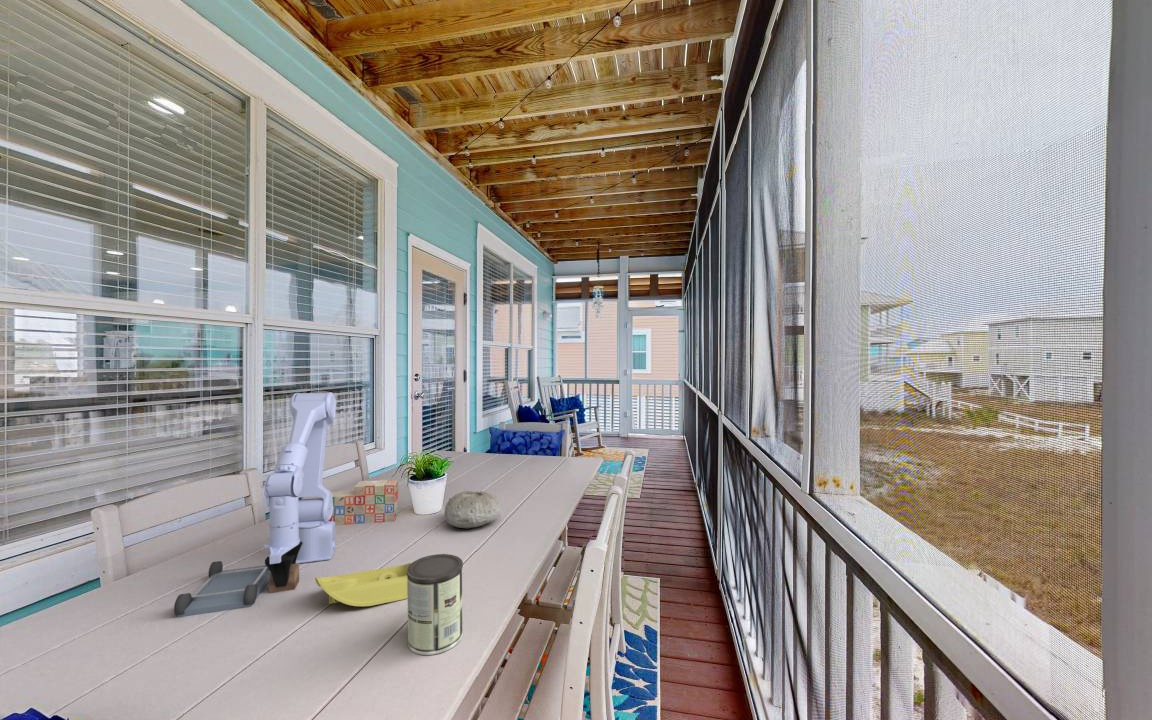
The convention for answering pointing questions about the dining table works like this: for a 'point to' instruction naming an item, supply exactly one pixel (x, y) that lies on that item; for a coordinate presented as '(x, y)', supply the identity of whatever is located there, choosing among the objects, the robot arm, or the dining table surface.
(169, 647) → the dining table surface
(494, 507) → the grey rounded lump
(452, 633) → the coffee can
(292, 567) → the engine block
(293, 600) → the dining table surface
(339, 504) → the stack of blocks
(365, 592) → the plastic component
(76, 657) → the dining table surface
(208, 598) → the chassis
